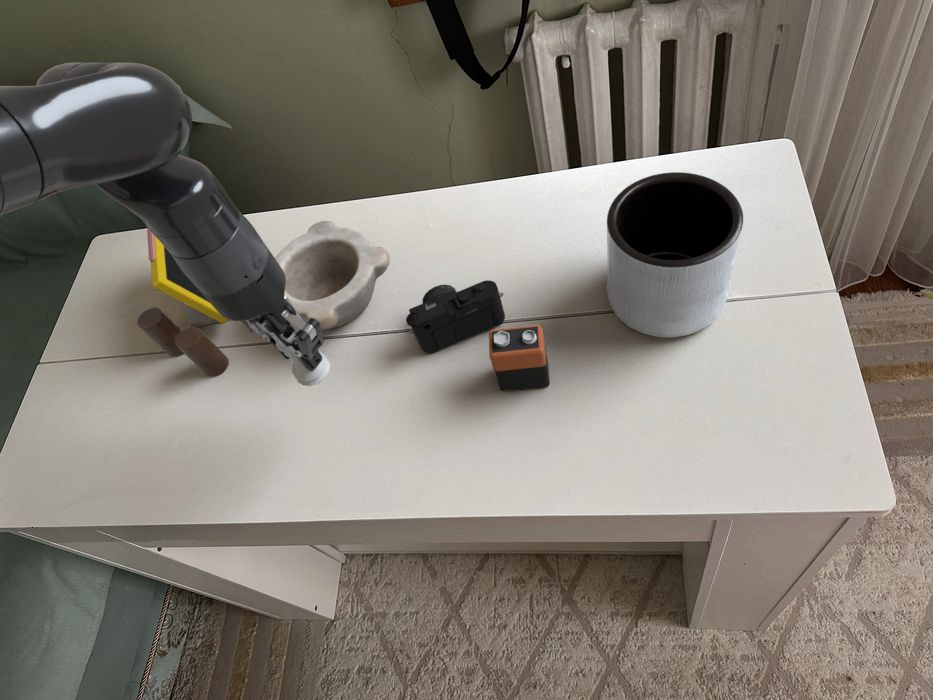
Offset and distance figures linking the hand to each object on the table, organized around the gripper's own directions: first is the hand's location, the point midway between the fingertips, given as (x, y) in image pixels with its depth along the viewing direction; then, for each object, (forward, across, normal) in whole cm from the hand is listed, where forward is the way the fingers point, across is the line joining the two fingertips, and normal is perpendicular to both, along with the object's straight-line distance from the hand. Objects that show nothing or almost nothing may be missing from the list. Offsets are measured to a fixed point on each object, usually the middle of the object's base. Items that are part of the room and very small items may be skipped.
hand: (303, 358), depth 73 cm
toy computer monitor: (+17, -38, +8) cm, 42 cm away
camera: (+17, +5, +20) cm, 27 cm away
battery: (+17, +18, +17) cm, 30 cm away
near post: (+17, -27, -2) cm, 32 cm away
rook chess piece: (+3, 0, 0) cm, 3 cm away
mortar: (+17, -15, +16) cm, 28 cm away
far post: (+17, -36, -2) cm, 40 cm away
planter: (+17, +30, +37) cm, 50 cm away
